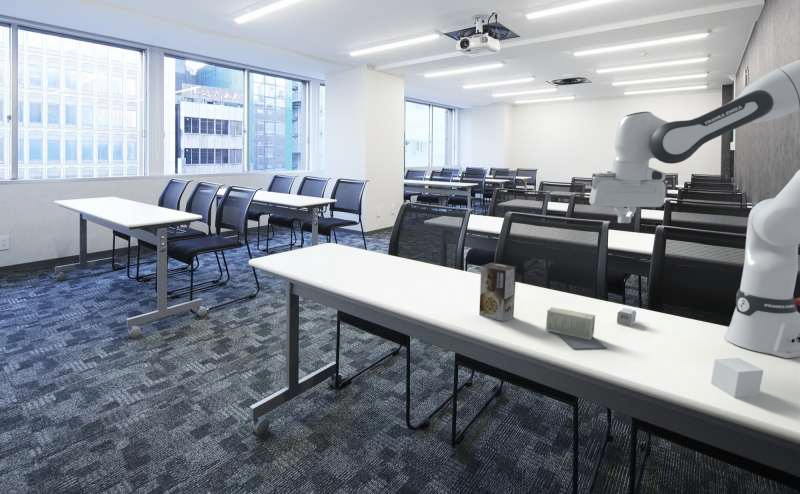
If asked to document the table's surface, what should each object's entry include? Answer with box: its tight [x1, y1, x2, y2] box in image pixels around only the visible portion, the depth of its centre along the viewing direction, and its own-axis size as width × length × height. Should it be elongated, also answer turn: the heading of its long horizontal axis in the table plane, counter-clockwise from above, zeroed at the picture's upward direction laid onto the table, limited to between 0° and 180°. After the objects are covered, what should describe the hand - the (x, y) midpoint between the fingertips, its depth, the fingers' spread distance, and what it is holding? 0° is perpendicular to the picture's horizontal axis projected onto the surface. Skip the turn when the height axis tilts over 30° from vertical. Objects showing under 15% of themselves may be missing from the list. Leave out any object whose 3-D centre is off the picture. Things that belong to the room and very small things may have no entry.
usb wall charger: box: [616, 307, 637, 327], centre depth 138 cm, size 4×7×4 cm, turn 139°
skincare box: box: [545, 306, 596, 340], centre depth 128 cm, size 6×4×12 cm
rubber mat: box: [555, 333, 608, 351], centre depth 125 cm, size 9×12×1 cm
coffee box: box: [478, 262, 517, 322], centre depth 141 cm, size 9×6×16 cm
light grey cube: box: [710, 357, 764, 399], centre depth 98 cm, size 6×6×6 cm
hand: (623, 222), depth 128 cm, fingers closed
